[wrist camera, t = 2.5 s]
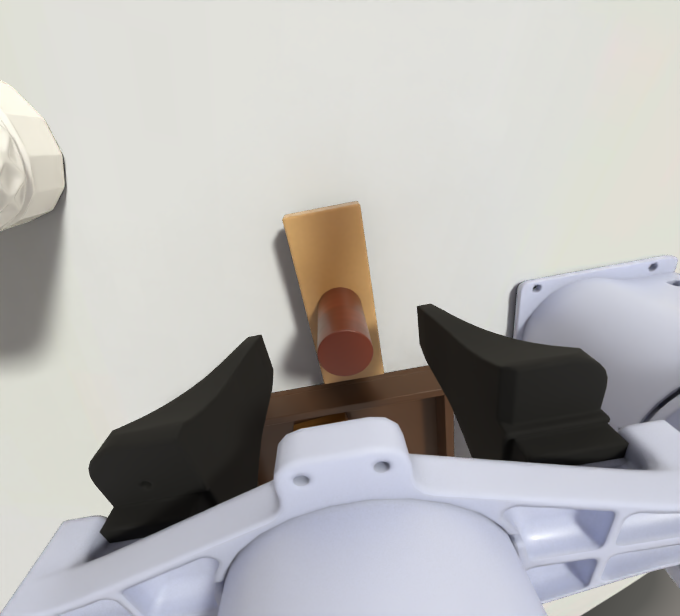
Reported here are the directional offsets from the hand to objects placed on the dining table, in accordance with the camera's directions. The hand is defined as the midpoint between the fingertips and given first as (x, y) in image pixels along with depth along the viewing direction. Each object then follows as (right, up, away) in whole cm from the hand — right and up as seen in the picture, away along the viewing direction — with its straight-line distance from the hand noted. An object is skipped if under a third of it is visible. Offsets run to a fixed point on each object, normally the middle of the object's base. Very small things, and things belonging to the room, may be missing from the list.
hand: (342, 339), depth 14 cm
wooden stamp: (0, +2, +5) cm, 6 cm away
